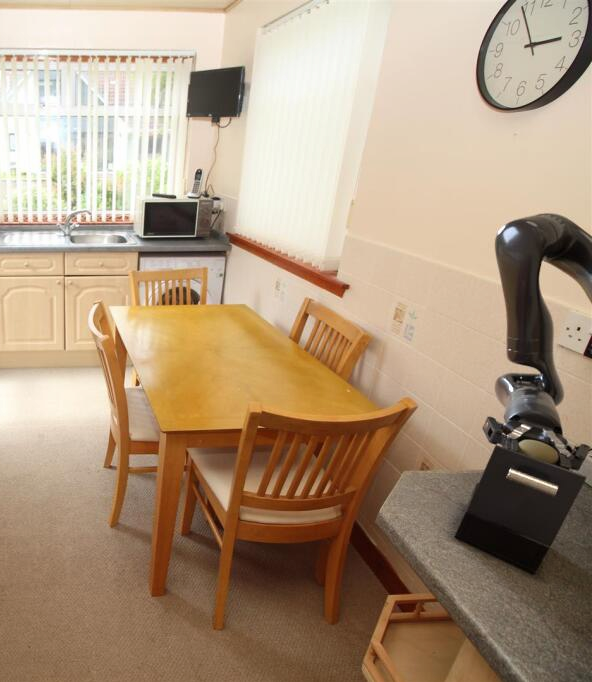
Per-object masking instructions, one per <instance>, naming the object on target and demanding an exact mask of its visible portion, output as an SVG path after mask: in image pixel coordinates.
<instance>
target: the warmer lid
mask: <svg viewBox="0 0 592 682" xmlns="http://www.w3.org/2000/svg"><path fill="white" fill-rule="evenodd" d="M494 445H495V444H494ZM586 480H587V475H584V474H581V473H578V472H575V471H574V470H573V471H572V470H571V469H570V470H567V469H564V468H561V467H558V466H556V465H553V464H550V463H547V462H544V461H541V460H538V459H535V458H533V457H530V456H527V455H524V454H521V453H518V452H515V451H512V450H510V449H507V448H504V447H502V445H499V444H497V445H495V446H494V448H493V450H492V452H491V454H490V456H489V458H488V461H487V463H486V465H485V468H484V470H483V472H482V474H481V477H480V479H479V480H478V482H477V483H478V486H477V488H476V490H475V492H474V495H473V497H472V499H471V501H470V504H469V506H468V508H467V511H469V512H472V513H474V514H476V515H479V516H481V517H483V518H485V519H488V520H490V521H492V522H495V523H497V524H499V525H502V526H504V527H506V528H509V529H511V530H513V531H515V532H518V533H520V534H522V535H525V536H527V537H529V538H532V539H534V540H536V541H538V542H541V543H543V544H545V545H548V546H549V548H550V547H552V546H553V543H554V541H555V540H556V538H557V536H558V533H559V532H560V530H561V528H562V526H563V524H564V522H565V520H566V518H567V516H568V515H569V512H570V511H571V509H572V507H573V505H574V503H575V501H576V499H577V497H578V496H579V494H580V491H581V489H582V488H583V485H584V483H585V481H586Z"/></svg>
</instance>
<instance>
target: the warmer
mask: <svg viewBox="0 0 592 682" xmlns="http://www.w3.org/2000/svg"><path fill="white" fill-rule="evenodd" d="M478 483H479V482H476V483H475V486H474V488H473V490H472V492H471V494H470V497H469V499H468V501H467V503H466V506H465V508H464V510H463V513H462V516H461V518H460V521H459V524H458V527H457V529H456V532H455V535H454V539H457V540H458V541H460V542H463V543H464V544H467V545H469V546H471V547H473V548H475V549H477V550H480V551H482V552H484V553H486V554H488V555H490V556H492V557H494V558H497V559H499V560H501V561H503V562H505V563H507V564H509V565H511V566H514V567H516V568H518V569H520V570H522V571H524V572H526V573H529V574H531V575H533V576H535V574H536V573H537V571H538V569H539V567H540V566H541V564H542V562H543V560H544V559H545V557H546V555H547V553H548V552H549V550H550V546H548V545H545V544H543V543H541V542H538V541H536V540H534V539H532V538H529V537H527V536H525V535H522V534H520V533H518V532H515V531H513V530H511V529H509V528H506V527H504V526H502V525H499V524H497V523H495V522H492V521H490V520H488V519H485V518H483V517H481V516H479V515H476V514H474V513H472V512H469V511H467V508H468V506H469V504H470V501H471V499H472V497H473V495H474V492H475V490H476V488H477V486H478Z"/></svg>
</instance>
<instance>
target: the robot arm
mask: <svg viewBox="0 0 592 682" xmlns="http://www.w3.org/2000/svg"><path fill="white" fill-rule="evenodd" d="M494 253H495V258H496V264H497V268H498V273H499V278H500V283H501V289H502V294H503V299H504V305H505V315H506V316H505V317H506V348H505V349H506V350H505V351H506V353H505V355H506V358H507V360H508V362H510V363H512V364H515V365H518V366H525V367H529V368H532V369H535V370H536V371H538V372H539V373H533V372H532V373H527V372H506V373H502V374H501V375H499V376H498V377H497V378H496V380H495V381H494V394H495V396H496V398H497V400H498V401H499V403H500V404H501V406H503V408H505V410H504V414H503V420H504V423H502V422H501V421H497V419H496V418H495V417H493V416H488V415H487V416H486V419H485V420H484V423H483V426H482V427H481V429H482V431H483V433H484V435H485V437H486V439H487V441H488V443H490V444H492V445H499V446H501V447H504V448H507V449H510V450H512V451H515V452H518V443H519V442H521V441H523V440H535V441H539V442H542V443H545V444H547V445H549V446H551V447H552V448H553V449H555V450H556V451H557V453H558V456H559V458H558V462H557V464H556V466H558V467H561V468H564V469H567V470H570V471H571V470H573V471H577V472H578V471H580V469H581V467H582V466H583V463H584V461H585V460H586V459H587V457H588V454H589V452H590V450H591V446H589V445H588V444H586V443H580V444H572V443H569V441H568V440H567V438H565V437H564V433H563V432H564V431H563V427H562V422H561V418H560V414H559V412H558V410H557V407H558V406H559V405H561V404H562V403H563V400H564V399H565V389H564V386H563V383H562V380H561V378H560V376H559V374H558V370H557V368H556V364H555V358H554V339H555V327H554V320H553V316H552V314H551V312H550V310H549V308H548V306H547V304H546V301H545V299H544V297H543V294H542V291H541V286H540V273H541V269H542V264H543V262H545V263H547V264H549V265H551V266H552V267H554V268H556V269H558V270H560V271H561V272H562V273H564V274H565V275H567V276H569V277H570V278H572V279H573V280H574V281H575V282H576V283H577V284H578V285H579V286H580V287H581V289H582V290H583V292H584V294H585V296H586V297H587V299H588V300H589V302H590V304H591V305H592V235H591V234H590V233H588V232H587V231H586V230H585V229H583V228H582V227H580V226H579V225H578V224H577V223H576V222H574V221H573V220H571V219H569V218H568V217H567V216H564V215H561V214H558V213H552V212H547V213H546V212H544V213H542V212H541V213H538V214H533V215H529V216H523V217H520V218H516V219H513V220H511V221H508V222H507V223H505V224H504V225H503V226H501V227H500V229H499V230H498V231H497V233H496V235H495V237H494Z"/></svg>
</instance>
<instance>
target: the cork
mask: <svg viewBox="0 0 592 682" xmlns="http://www.w3.org/2000/svg"><path fill="white" fill-rule="evenodd" d="M518 453H521V454H524V455H527V456H530V457H533V458H535V459H538V460H541V461H544V462H547V463H550V464H553V465H556V464H557V462H558V458H559V456H558V453H557V451H556V450H555V449H553V448H552V447H551V446H549V445H547V444H545V443H542V442H539V441H535V440H523V441H521V442H519V443H518Z"/></svg>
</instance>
